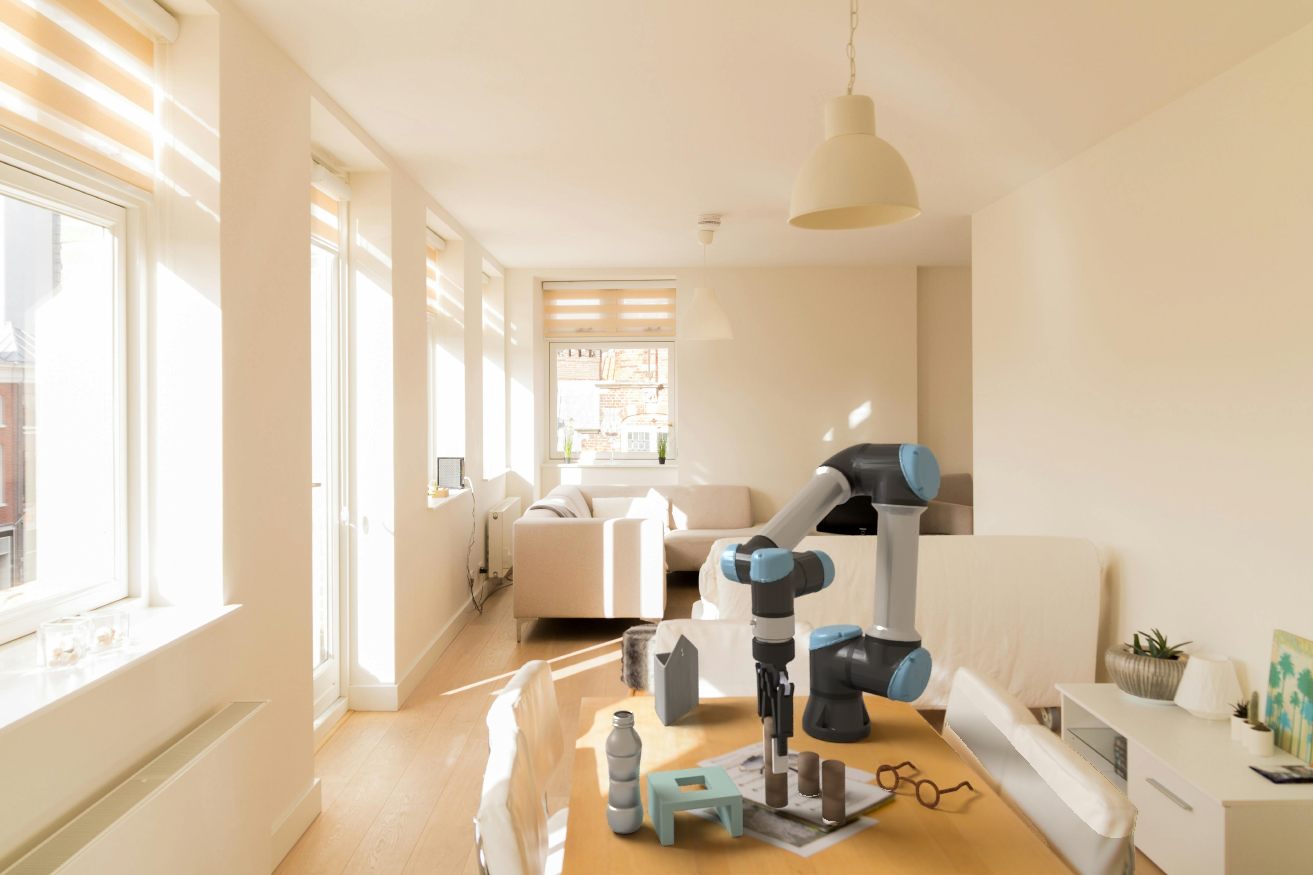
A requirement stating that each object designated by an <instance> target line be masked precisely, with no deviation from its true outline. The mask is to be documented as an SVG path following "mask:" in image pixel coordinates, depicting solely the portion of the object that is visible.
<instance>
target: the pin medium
mask: <svg viewBox="0 0 1313 875" xmlns="http://www.w3.org/2000/svg"><path fill="white" fill-rule="evenodd" d="M822 817H823V818H824V819H826V820H828V821H836V822H839V823H837V825H836V827H838V828H839V827H843V826H844V825H846V820H845V819H847V818H846V764H845V762H843V761H841V760H839V759H838V760H837V759H825V760H823V761H822V762H821V818H822ZM836 827H835V828H836Z"/></svg>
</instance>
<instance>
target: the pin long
mask: <svg viewBox="0 0 1313 875" xmlns="http://www.w3.org/2000/svg"><path fill="white" fill-rule="evenodd" d="M763 726H764V751H765V762H764V786H765V788H764V793H765V794H764V795H765V796H764V800H765V804H766V806H768V807H770V808H773V809H782V808H783V809H784V808H786V807H787V806H788V805H789V786H788V784H789V782H788V773H789V772H785V773H777V774H774V773H773V763H772V739H771V737H770V734H774V727H773V716H769V717H766V718H764V724H763Z"/></svg>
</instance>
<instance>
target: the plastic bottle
mask: <svg viewBox="0 0 1313 875" xmlns="http://www.w3.org/2000/svg"><path fill="white" fill-rule="evenodd" d="M634 716H635V714H634V712H633V711H631V710H617V711H615V712H613V714H612V726H613V728H612V730H611V731H610V733H609V734H608V736H607V738H606V740H605V741H606V742H605V754H606V759H607V761H606V762H607V765H608V779H609V780H608V781H609V783H608V784H609V787H608V801H607V804H606V805H607V806H606V814H605V816H606V822H607V825H608V826H609V829H611V831H612V832H614V833H618V834H623V835H624V834H626V835H627V834H631V833H635V832H637V831H639V829H640V827H641V826H642V825H643V822H644V816H645V813H644V807H643V801H642V796H641V795H642V794H641V786H640V785H641V784H640V777H641V776H640V774H641V773H640V769H641V768H640V766H641V758H642V753H643V752H642V750H643V742H642V739H641V736H640V735H639V733H638V732H637V730H636V729H635V728H634V726H635V717H634Z"/></svg>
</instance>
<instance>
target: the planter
mask: <svg viewBox="0 0 1313 875" xmlns="http://www.w3.org/2000/svg"><path fill="white" fill-rule="evenodd" d="M653 672H654V673H653V674H654V675H653V676H654V677H653V678H654V711H655V713H656V716H657V717H658V719H659V720H660V721H661V723H662V724H663V726H664V727H668V726H669V725H670V724H673V723H674V722H675V721H676V720H678V719H680V718H681V717H683V716H684V715H685V714H687V713H689V712H690V711H691V710H693V709H694V708H696V707H698V705H699V704H700V697H699V695H700V691H699V690H700V688H699V685H700V684H699V680H700V679H699V673H700V672H699V649H698V648H697V647H696V645H694V643H692V641H690V640H689V639H688V638H687V637H686V636H685V634H682V633H681V634H680V635H679V636H678V638H677V641H676V643H675V644H674V646H673V649H672V650H671V651H669V652H662V653H661V652H660V653H655V654H653Z"/></svg>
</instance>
